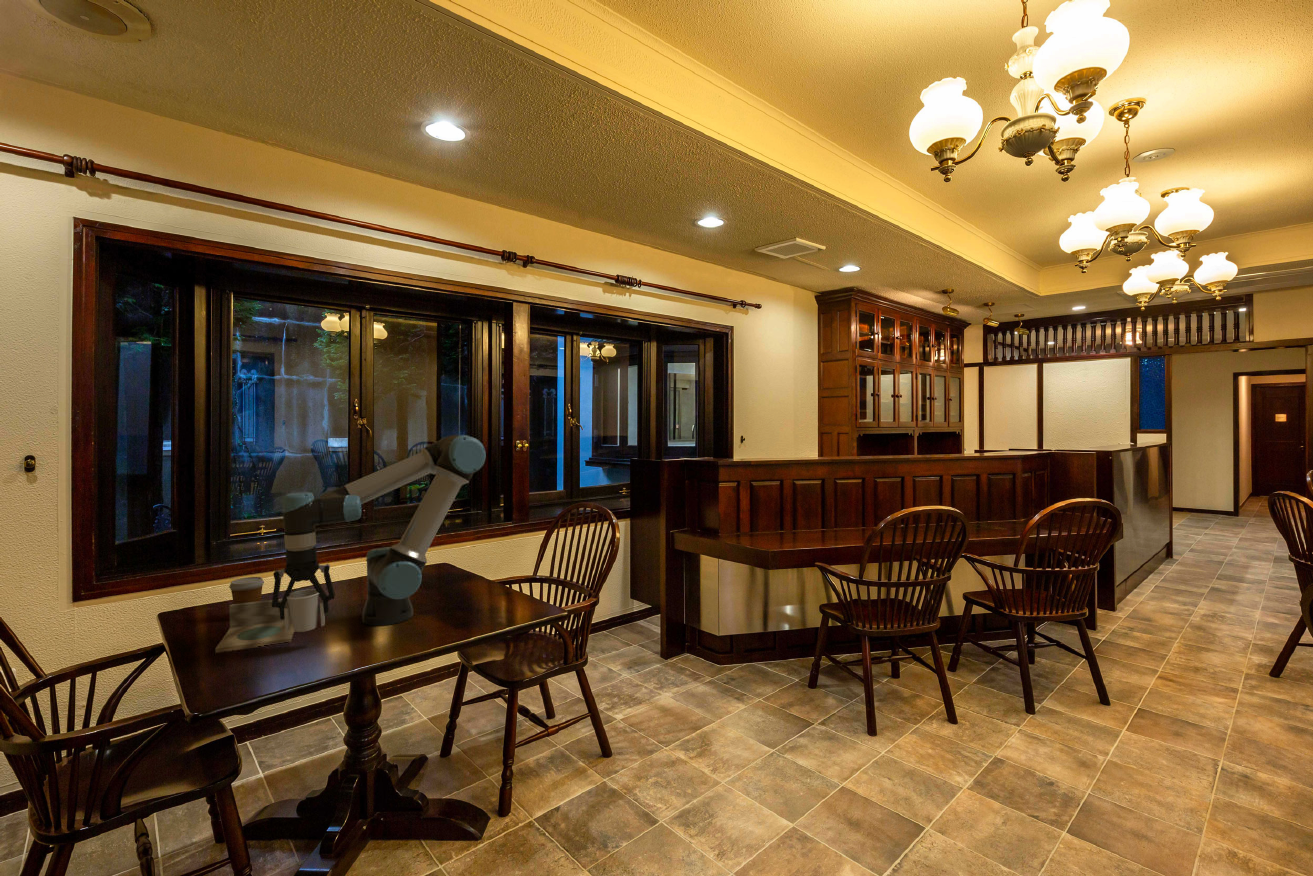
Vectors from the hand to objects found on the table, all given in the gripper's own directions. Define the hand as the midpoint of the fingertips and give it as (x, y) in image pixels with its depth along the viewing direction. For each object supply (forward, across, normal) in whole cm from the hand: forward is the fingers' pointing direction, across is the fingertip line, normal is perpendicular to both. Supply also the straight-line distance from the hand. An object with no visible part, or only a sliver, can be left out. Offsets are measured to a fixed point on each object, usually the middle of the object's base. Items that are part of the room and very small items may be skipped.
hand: (305, 627), depth 171 cm
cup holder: (+6, +14, -16) cm, 22 cm away
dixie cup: (0, 0, 0) cm, 0 cm away
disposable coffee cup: (+6, +21, -40) cm, 45 cm away
